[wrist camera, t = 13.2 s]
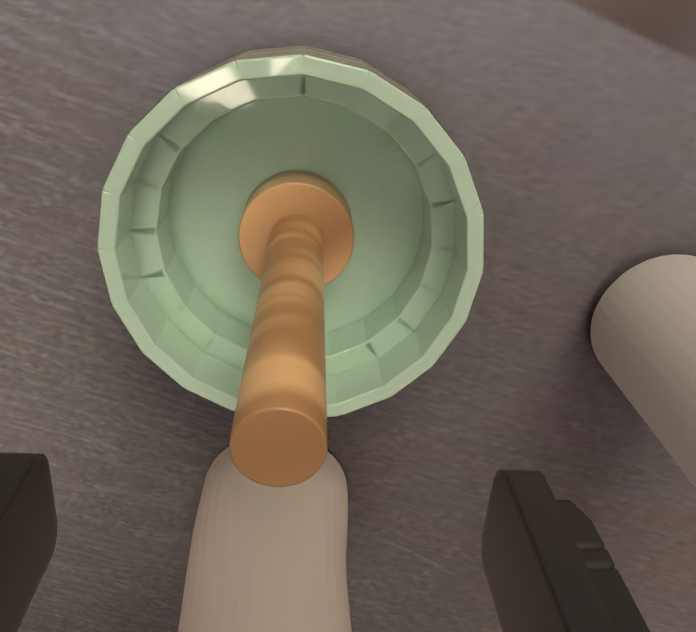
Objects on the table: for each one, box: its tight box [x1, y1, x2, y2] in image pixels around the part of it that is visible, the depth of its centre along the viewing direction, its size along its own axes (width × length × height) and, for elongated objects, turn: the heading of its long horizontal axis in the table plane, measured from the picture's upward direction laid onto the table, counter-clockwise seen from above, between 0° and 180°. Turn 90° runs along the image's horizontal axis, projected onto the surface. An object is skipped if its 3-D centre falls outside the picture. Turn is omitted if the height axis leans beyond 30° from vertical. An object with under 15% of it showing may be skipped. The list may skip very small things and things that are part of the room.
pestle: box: [229, 170, 354, 487], centre depth 20 cm, size 4×4×15 cm
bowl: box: [97, 45, 484, 417], centre depth 25 cm, size 13×13×5 cm
